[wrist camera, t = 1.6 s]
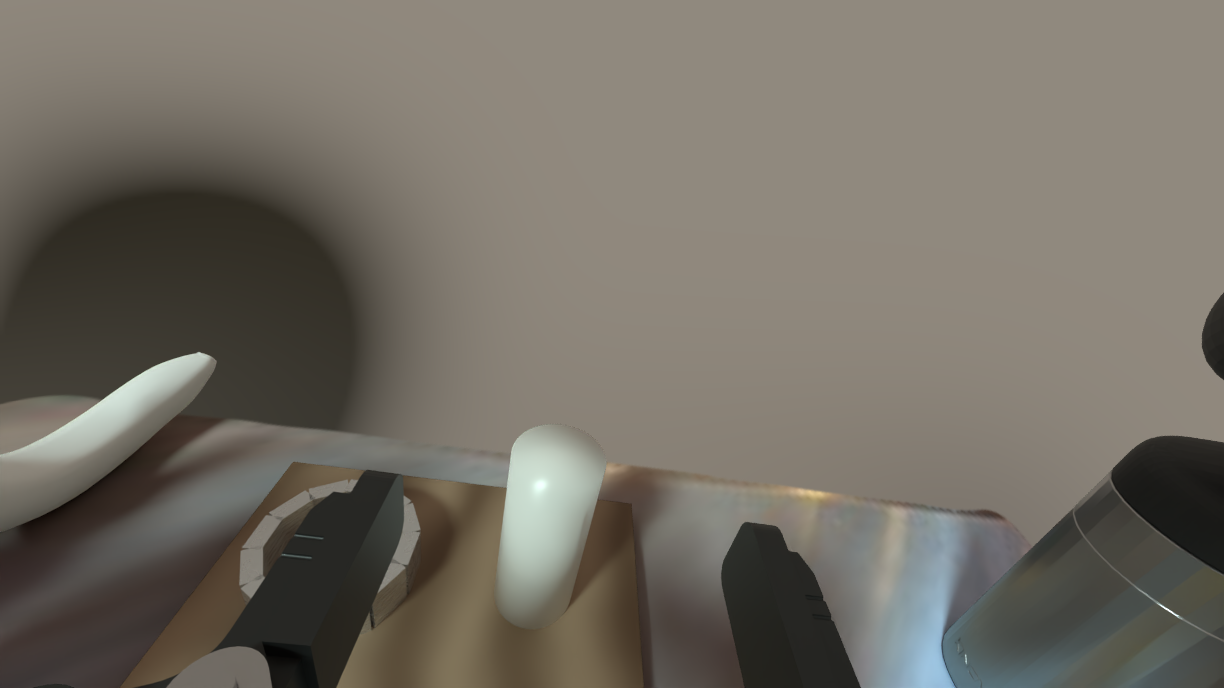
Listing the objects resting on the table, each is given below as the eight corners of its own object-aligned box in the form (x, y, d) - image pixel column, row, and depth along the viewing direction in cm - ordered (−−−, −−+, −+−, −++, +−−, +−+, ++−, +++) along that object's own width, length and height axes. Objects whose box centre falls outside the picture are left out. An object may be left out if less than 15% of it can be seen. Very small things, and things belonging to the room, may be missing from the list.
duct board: (627, 515, 39) (631, 503, 38) (641, 760, 26) (647, 749, 25) (295, 475, 36) (293, 461, 35) (109, 729, 22) (98, 715, 22)
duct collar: (436, 518, 34) (436, 489, 32) (387, 654, 26) (385, 624, 25) (303, 503, 33) (297, 472, 31) (210, 640, 25) (197, 608, 23)
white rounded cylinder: (573, 559, 33) (606, 430, 27) (569, 632, 29) (606, 499, 23) (501, 551, 33) (519, 418, 27) (486, 625, 28) (503, 486, 22)
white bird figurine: (232, 404, 41) (190, 244, 34) (-46, 627, 25) (-247, 409, 17) (175, 393, 41) (120, 229, 33) (-145, 610, 24) (-390, 382, 17)
